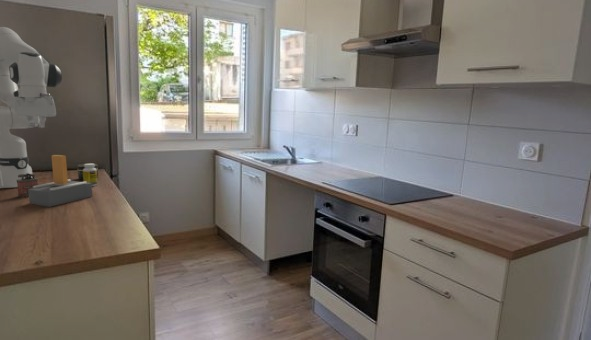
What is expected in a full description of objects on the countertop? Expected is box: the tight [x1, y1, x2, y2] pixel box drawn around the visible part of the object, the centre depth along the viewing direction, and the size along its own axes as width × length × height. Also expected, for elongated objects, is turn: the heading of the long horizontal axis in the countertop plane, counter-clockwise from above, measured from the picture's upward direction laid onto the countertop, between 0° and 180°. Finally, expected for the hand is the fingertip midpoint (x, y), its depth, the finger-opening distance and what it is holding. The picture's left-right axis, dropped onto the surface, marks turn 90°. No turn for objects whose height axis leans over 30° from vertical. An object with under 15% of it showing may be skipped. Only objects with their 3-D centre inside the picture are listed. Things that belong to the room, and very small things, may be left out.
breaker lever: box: [51, 154, 69, 184], centre depth 164 cm, size 6×2×12 cm, turn 68°
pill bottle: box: [82, 162, 98, 187], centre depth 194 cm, size 6×6×11 cm
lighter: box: [16, 173, 39, 198], centre depth 172 cm, size 8×3×10 cm, turn 135°
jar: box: [76, 163, 99, 181], centre depth 211 cm, size 10×10×8 cm
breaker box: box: [28, 179, 93, 208], centre depth 165 cm, size 12×20×7 cm, turn 158°
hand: (37, 127), depth 159 cm, fingers open, 4 cm apart
